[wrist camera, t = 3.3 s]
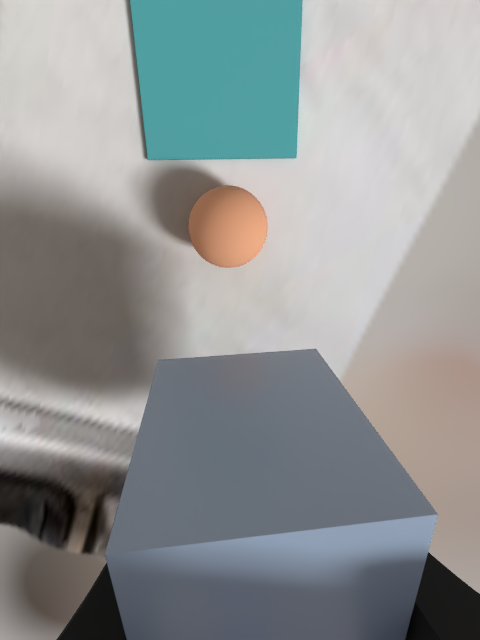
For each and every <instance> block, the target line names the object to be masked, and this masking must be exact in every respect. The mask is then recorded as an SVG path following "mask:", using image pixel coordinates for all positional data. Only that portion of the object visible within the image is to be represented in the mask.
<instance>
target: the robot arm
mask: <svg viewBox="0 0 480 640" xmlns="http://www.w3.org/2000/svg"><path fill="white" fill-rule="evenodd" d="M57 640H127V639H126V635H125V631H124V627H123V623H122V619H121V615H120V612H119V608H118V604H117V600H116V596H115V592H114V588H113V584H112V581H111V577H110V573H109V569H108V565H107V563H106V565H105V566H104V568H103V570H102V571H101V573H100V575H99V576H98V578H97V580H96V581H95V583H94V585H93V586H92V588H91V590H90V591H89V593H88V594H87V596H86V597H85V599H84V601H83V602H82V604H81V605H80V607H79V608H78V610H77V611H76V613H75V614H74V615H73V617H72V619H71V620H70V621H69V623H68V624H67V626H66V627H65V629H64V630H63V632H62V633H61V634H60V636H59V637H58V638H57ZM405 640H480V594H479V593H478V592H476V591H475V590H473V589H472V588H471V587H470V586H468V585H467V584H466V583H465V582H463V581H462V580H461V579H460V578H458V577H457V576H456V575H455V574H453V573H452V572H451V571H450V570H449V569H447V568H446V567H445V566H444V565H443V564H442V563H440V562H439V561H438V560H437V559H436V558H435V557H433V556H432V555H431V554H430V553H429V552H428V554H427V558H426V562H425V566H424V570H423V573H422V577H421V581H420V585H419V589H418V592H417V596H416V600H415V604H414V608H413V611H412V615H411V619H410V623H409V627H408V630H407V634H406V638H405Z"/></svg>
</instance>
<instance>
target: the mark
mask: <svg viewBox="0 0 480 640" xmlns="http://www.w3.org/2000/svg"><path fill="white" fill-rule="evenodd" d="M130 5H131V14H132V23H133V32H134V41H135V49H136V58H137V67H138V76H139V85H140V94H141V103H142V112H143V121H144V130H145V139H146V148H147V157H148V160H194V159H270V158H296V156H297V129H298V103H299V76H300V50H301V23H302V0H130Z"/></svg>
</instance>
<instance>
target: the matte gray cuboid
mask: <svg viewBox="0 0 480 640" xmlns="http://www.w3.org/2000/svg"><path fill="white" fill-rule="evenodd" d="M437 516H438V514H437V512H436V511H435V510H434V508H433V507H432V506H431V504H430V503H429V502H428V500H427V499H426V497H425V496H424V495H423V493H422V492H421V491H420V489H419V488H418V487H417V485H416V484H415V483H414V481H413V480H412V479H411V477H410V476H409V474H408V473H407V472H406V470H405V469H404V468H403V466H402V465H401V464H400V462H399V461H398V460H397V458H396V457H395V455H394V454H393V453H392V451H391V450H390V449H389V447H388V446H387V445H386V443H385V442H384V440H383V439H382V438H381V436H380V435H379V434H378V432H377V431H376V430H375V428H374V427H373V426H372V424H371V423H370V422H369V420H368V419H367V417H366V416H365V415H364V413H363V412H362V411H361V409H360V408H359V407H358V405H357V404H356V403H355V401H354V400H353V398H352V397H351V396H350V394H349V393H348V392H347V390H346V389H345V388H344V386H343V385H342V384H341V382H340V381H339V379H338V378H337V377H336V375H335V374H334V373H333V371H332V370H331V369H330V367H329V366H328V365H327V363H326V362H325V360H324V359H323V358H322V356H321V355H320V354H319V352H318V351H317V350H316V349H307V350H293V351H279V352H265V353H251V354H237V355H223V356H209V357H195V358H181V359H167V360H158V364H157V368H156V371H155V375H154V378H153V382H152V386H151V389H150V393H149V397H148V400H147V404H146V407H145V411H144V415H143V418H142V422H141V426H140V429H139V433H138V436H137V440H136V444H135V447H134V451H133V455H132V458H131V462H130V465H129V469H128V473H127V476H126V480H125V484H124V487H123V491H122V494H121V498H120V502H119V505H118V509H117V513H116V516H115V520H114V523H113V527H112V531H111V534H110V538H109V542H108V545H107V549H106V552H105V557H106V561H107V565H108V569H109V573H110V577H111V581H112V584H113V588H114V592H115V596H116V600H117V604H118V608H119V612H120V615H121V619H122V623H123V627H124V631H125V635H126V639H127V640H405V638H406V634H407V630H408V627H409V623H410V619H411V615H412V611H413V608H414V604H415V600H416V596H417V592H418V589H419V585H420V581H421V577H422V573H423V570H424V566H425V562H426V558H427V554H428V550H429V547H430V543H431V539H432V535H433V532H434V528H435V524H436V520H437Z"/></svg>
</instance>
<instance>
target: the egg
mask: <svg viewBox="0 0 480 640" xmlns="http://www.w3.org/2000/svg"><path fill="white" fill-rule="evenodd" d="M267 228H268V227H267V218H266V214H265V211H264V209H263V207H262V205H261V204H260V202H259V201H258V200H257V198H256V197H255V196H253V195H252V194H251V193H250V192H248V191H246V190H244V189H242V188H239V187H236V186H219V187H216V188H213V189H211V190H209V191H207V192H206V193H204V194H203V195H202V196H201V197H200V198H199V199H198V200H197V202H196V203H195V205H194V206H193V208H192V211H191V213H190V217H189V235H190V239H191V242H192V244H193V246H194V248H195V250H196V251H197V252H198V254H199V255H200V256H201V257H202V258H204V259H205V260H206V261H208V262H209V263H211V264H213V265H216V266H219V267H227V268H231V267H237V266H241V265H243V264H246V263H247V262H249V261H251V260H252V259H253V258H254V257H255V256H256V255H257V254H258V253H259V252H260V250H261V249H262V247H263V245H264V243H265V240H266V236H267Z"/></svg>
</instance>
